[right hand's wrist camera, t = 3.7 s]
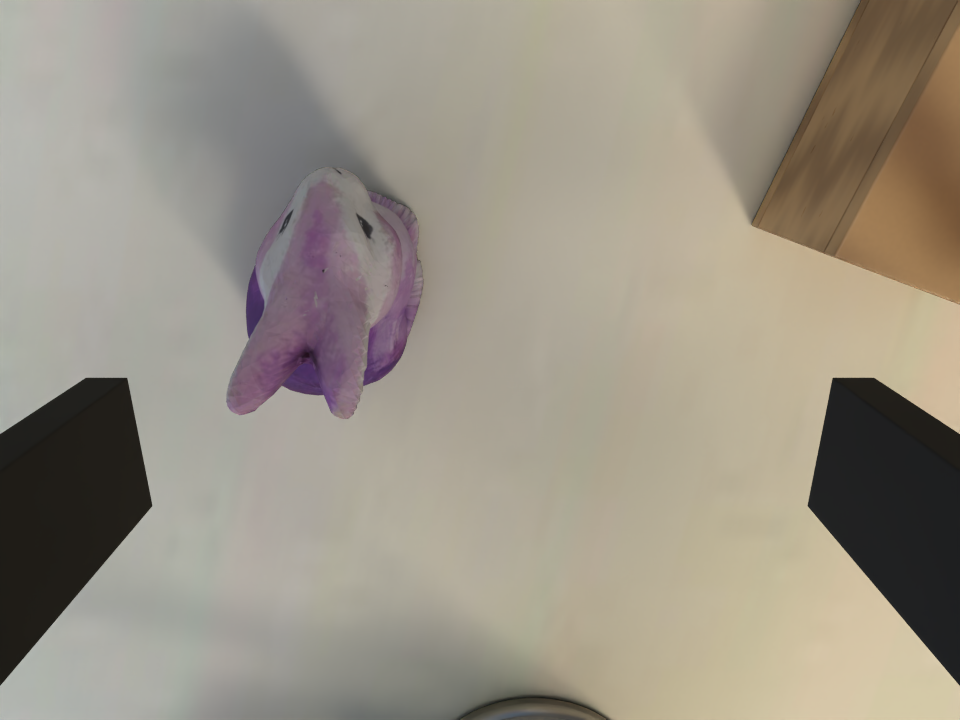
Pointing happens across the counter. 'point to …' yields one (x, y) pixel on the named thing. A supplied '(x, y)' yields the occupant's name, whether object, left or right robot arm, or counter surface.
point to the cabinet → (881, 150)
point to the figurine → (329, 295)
